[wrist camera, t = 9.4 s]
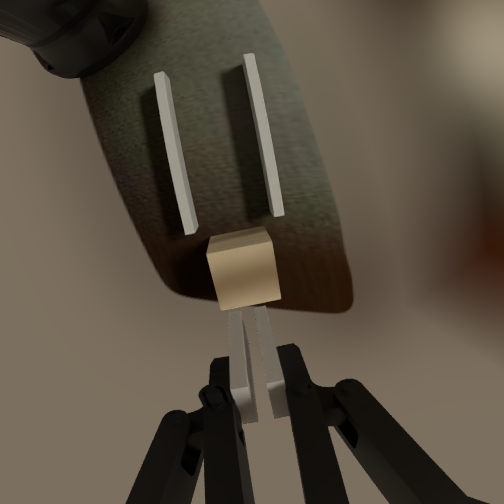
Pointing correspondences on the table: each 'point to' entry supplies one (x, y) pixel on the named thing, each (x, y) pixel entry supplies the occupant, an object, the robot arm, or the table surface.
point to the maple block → (243, 268)
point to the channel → (177, 156)
